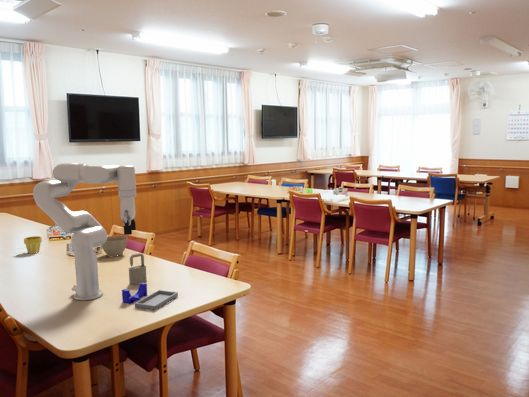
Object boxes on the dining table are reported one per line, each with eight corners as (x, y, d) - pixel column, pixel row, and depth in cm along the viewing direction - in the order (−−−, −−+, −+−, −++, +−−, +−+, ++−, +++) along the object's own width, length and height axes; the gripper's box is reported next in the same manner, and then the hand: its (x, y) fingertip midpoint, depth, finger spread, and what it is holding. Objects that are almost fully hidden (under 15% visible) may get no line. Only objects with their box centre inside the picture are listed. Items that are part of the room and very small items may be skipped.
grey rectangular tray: (134, 307, 194) (134, 303, 193) (159, 294, 210) (158, 289, 210) (154, 310, 190) (154, 306, 190) (177, 296, 207) (177, 292, 206)
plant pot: (45, 251, 295) (44, 237, 294) (30, 255, 286) (29, 240, 285) (36, 249, 301) (35, 235, 299) (21, 253, 292) (20, 238, 291)
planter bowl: (101, 253, 289) (100, 236, 288) (127, 251, 294) (126, 234, 292) (100, 259, 274) (99, 242, 272) (128, 257, 279) (127, 239, 277)
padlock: (128, 283, 226) (127, 254, 224) (143, 280, 232) (142, 251, 230) (132, 285, 223) (130, 256, 221) (147, 281, 229) (145, 253, 227)
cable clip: (129, 304, 198) (129, 291, 197) (122, 302, 200) (121, 289, 199) (149, 296, 208) (148, 283, 207) (142, 294, 210) (141, 282, 210)
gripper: (122, 192, 203) (125, 229, 205) (114, 196, 186) (117, 236, 188) (139, 191, 204) (141, 228, 206) (132, 195, 187) (135, 235, 189)
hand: (130, 232), depth 197 cm, fingers open, 9 cm apart
